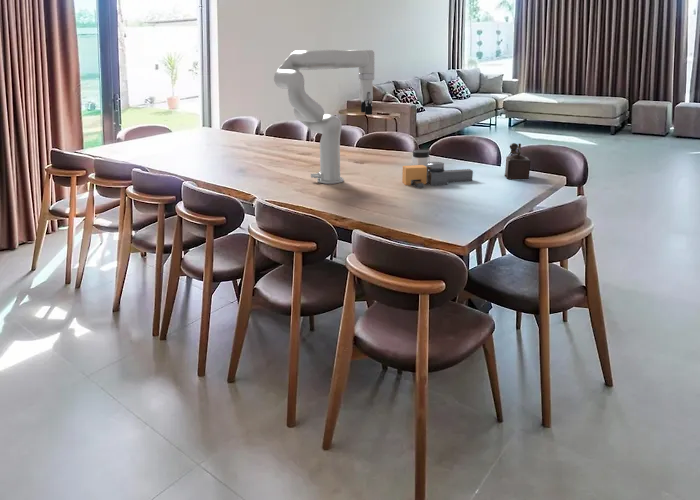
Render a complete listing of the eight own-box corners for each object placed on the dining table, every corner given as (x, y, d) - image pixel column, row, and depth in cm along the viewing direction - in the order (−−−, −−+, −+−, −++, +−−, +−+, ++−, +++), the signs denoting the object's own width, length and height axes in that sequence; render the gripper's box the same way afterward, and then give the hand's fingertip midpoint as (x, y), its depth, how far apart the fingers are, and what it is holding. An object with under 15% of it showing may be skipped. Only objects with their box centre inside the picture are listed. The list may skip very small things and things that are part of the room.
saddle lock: (405, 185, 294) (406, 168, 291) (402, 182, 299) (402, 165, 297) (426, 184, 295) (426, 167, 293) (422, 181, 301) (422, 164, 298)
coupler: (417, 187, 289) (417, 168, 286) (406, 179, 305) (406, 160, 302) (477, 184, 294) (478, 165, 291) (463, 176, 311) (464, 158, 308)
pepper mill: (503, 174, 313) (505, 138, 307) (525, 175, 312) (528, 138, 306) (507, 182, 298) (510, 144, 292) (531, 182, 297) (534, 144, 291)
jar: (427, 173, 318) (428, 149, 314) (431, 176, 311) (431, 152, 307) (410, 173, 317) (410, 149, 313) (413, 177, 310) (413, 152, 306)
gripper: (355, 76, 308) (355, 111, 313) (362, 78, 292) (362, 115, 297) (370, 75, 309) (370, 111, 315) (378, 78, 293) (378, 115, 298)
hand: (366, 113), depth 306 cm, fingers open, 9 cm apart
